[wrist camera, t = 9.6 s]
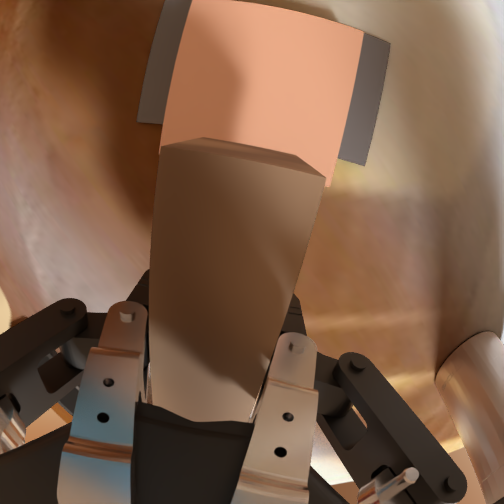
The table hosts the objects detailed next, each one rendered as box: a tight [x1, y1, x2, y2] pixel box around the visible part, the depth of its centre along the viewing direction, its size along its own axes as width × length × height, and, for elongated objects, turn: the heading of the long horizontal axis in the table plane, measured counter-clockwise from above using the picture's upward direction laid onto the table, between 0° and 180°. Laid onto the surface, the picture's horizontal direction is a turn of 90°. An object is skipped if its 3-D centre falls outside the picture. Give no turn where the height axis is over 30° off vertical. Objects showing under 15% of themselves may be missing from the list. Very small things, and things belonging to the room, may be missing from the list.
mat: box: [136, 0, 390, 166], centre depth 14 cm, size 14×8×1 cm, turn 79°
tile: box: [159, 0, 364, 187], centre depth 13 cm, size 9×2×9 cm
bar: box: [149, 137, 326, 422], centre depth 10 cm, size 4×12×5 cm, turn 169°
